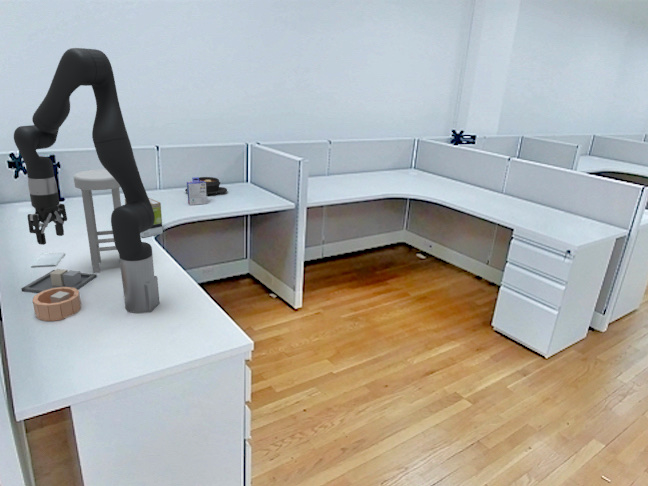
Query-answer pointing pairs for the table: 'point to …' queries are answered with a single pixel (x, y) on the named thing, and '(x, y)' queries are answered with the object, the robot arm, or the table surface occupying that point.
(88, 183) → the stool
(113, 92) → the robot arm
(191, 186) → the ink cartridge box
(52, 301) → the pale grey cuboid
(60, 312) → the bowl
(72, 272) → the light gray block
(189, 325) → the table surface
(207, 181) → the casserole
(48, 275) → the tray
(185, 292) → the table surface
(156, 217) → the tea box
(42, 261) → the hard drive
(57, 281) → the off-white cubic block
